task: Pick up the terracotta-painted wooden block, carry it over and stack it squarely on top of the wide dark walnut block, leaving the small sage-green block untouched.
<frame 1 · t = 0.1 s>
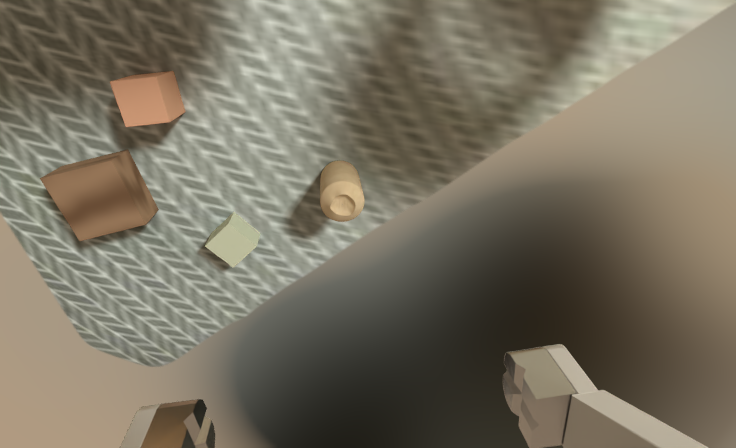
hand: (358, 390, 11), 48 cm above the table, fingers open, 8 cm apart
terracotta block: (159, 94, 52), on the table
sage block: (236, 232, 61), on the table
candle: (339, 178, 59), on the table
walnut block: (112, 188, 56), on the table
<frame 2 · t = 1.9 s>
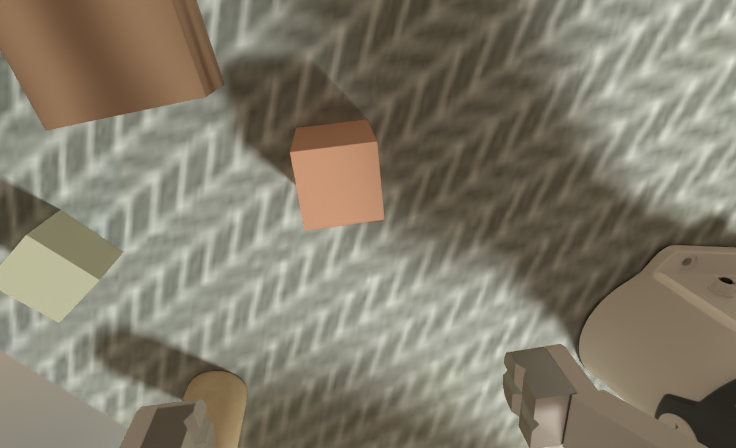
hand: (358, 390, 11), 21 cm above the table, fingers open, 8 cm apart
terracotta block: (336, 157, 30), on the table
sage block: (75, 251, 31), on the table
candle: (218, 389, 39), on the table
walnut block: (127, 23, 25), on the table
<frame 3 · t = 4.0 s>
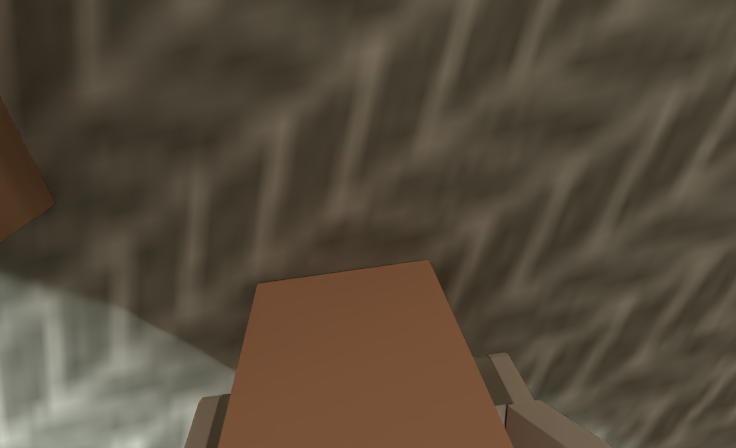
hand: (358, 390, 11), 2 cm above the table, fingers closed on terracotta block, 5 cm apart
terracotta block: (353, 337, 13), on the table, touching gripper
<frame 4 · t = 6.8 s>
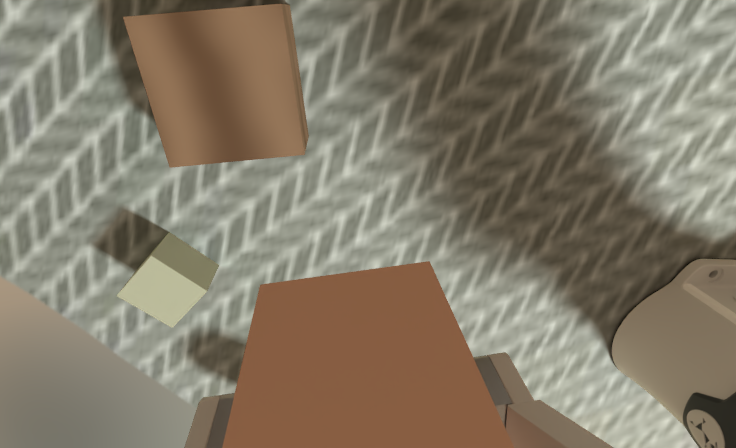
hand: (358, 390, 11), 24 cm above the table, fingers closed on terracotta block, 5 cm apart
terracotta block: (355, 338, 13), point 22 cm above the table, touching gripper
sage block: (178, 266, 37), on the table
walnut block: (238, 80, 30), on the table
when the fingers open (8 cm above the table, at t = 9.6 s): terracotta block drops 1 cm, resting on walnut block.
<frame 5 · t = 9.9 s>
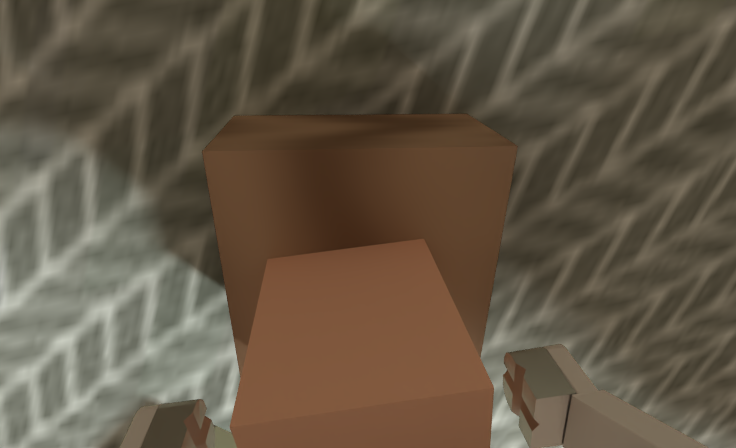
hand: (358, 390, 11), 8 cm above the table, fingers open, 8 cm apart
terracotta block: (354, 311, 14), point 5 cm above the table, touching walnut block
walnut block: (353, 216, 18), on the table, touching terracotta block
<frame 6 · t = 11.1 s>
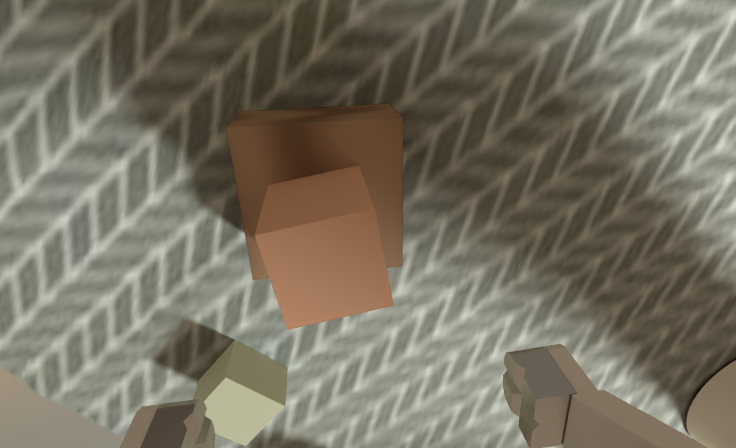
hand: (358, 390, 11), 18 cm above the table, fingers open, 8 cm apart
terracotta block: (324, 216, 23), point 5 cm above the table
sage block: (243, 372, 33), on the table
walnut block: (321, 175, 27), on the table
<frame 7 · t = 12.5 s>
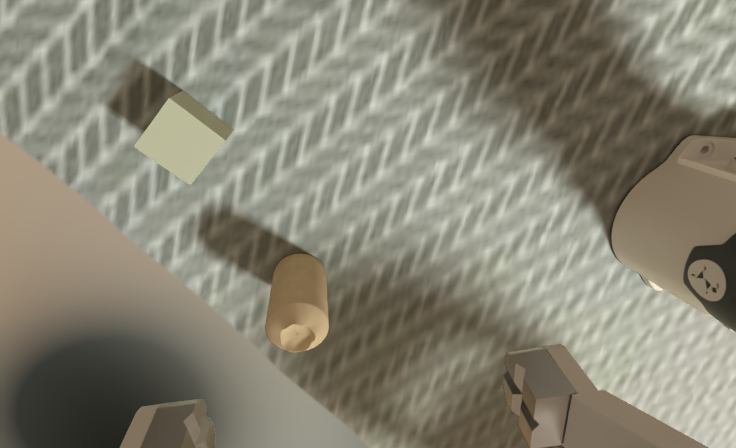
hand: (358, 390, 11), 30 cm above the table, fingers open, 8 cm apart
sage block: (193, 131, 36), on the table
candle: (299, 274, 44), on the table
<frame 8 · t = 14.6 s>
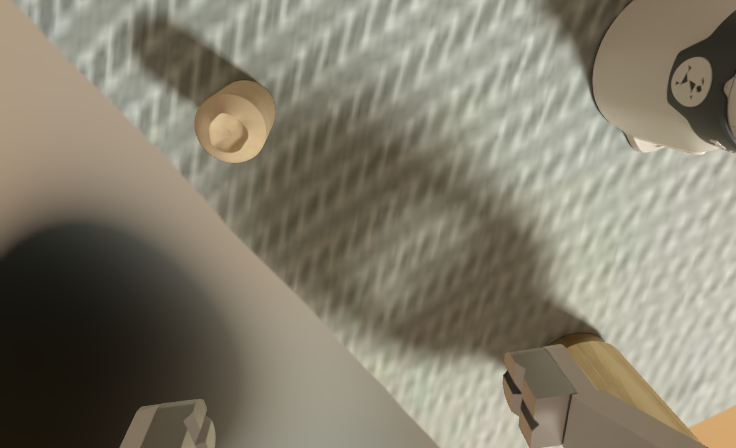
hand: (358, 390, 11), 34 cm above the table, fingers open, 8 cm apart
lamp: (569, 361, 61), on the table
candle: (248, 108, 40), on the table
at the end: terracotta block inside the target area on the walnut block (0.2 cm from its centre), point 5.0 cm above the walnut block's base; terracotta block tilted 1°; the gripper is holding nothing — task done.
